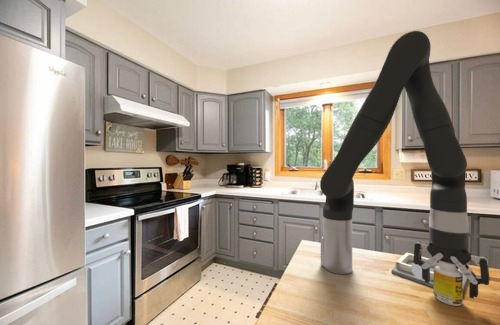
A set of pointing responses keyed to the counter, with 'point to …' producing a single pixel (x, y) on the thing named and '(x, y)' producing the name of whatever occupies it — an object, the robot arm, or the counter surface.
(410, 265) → the grey board with frame
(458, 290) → the supplement bottle
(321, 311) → the counter surface
